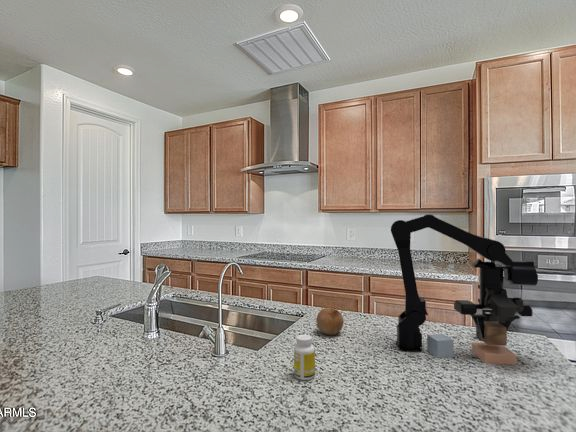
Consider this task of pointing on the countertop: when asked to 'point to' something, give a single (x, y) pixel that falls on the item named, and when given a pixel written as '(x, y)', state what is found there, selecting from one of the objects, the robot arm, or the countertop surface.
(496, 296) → the robot arm
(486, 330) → the walnut cube
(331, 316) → the onion
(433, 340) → the slate-blue cube
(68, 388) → the countertop surface
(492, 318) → the supplement bottle
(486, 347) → the base block
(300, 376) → the supplement bottle
